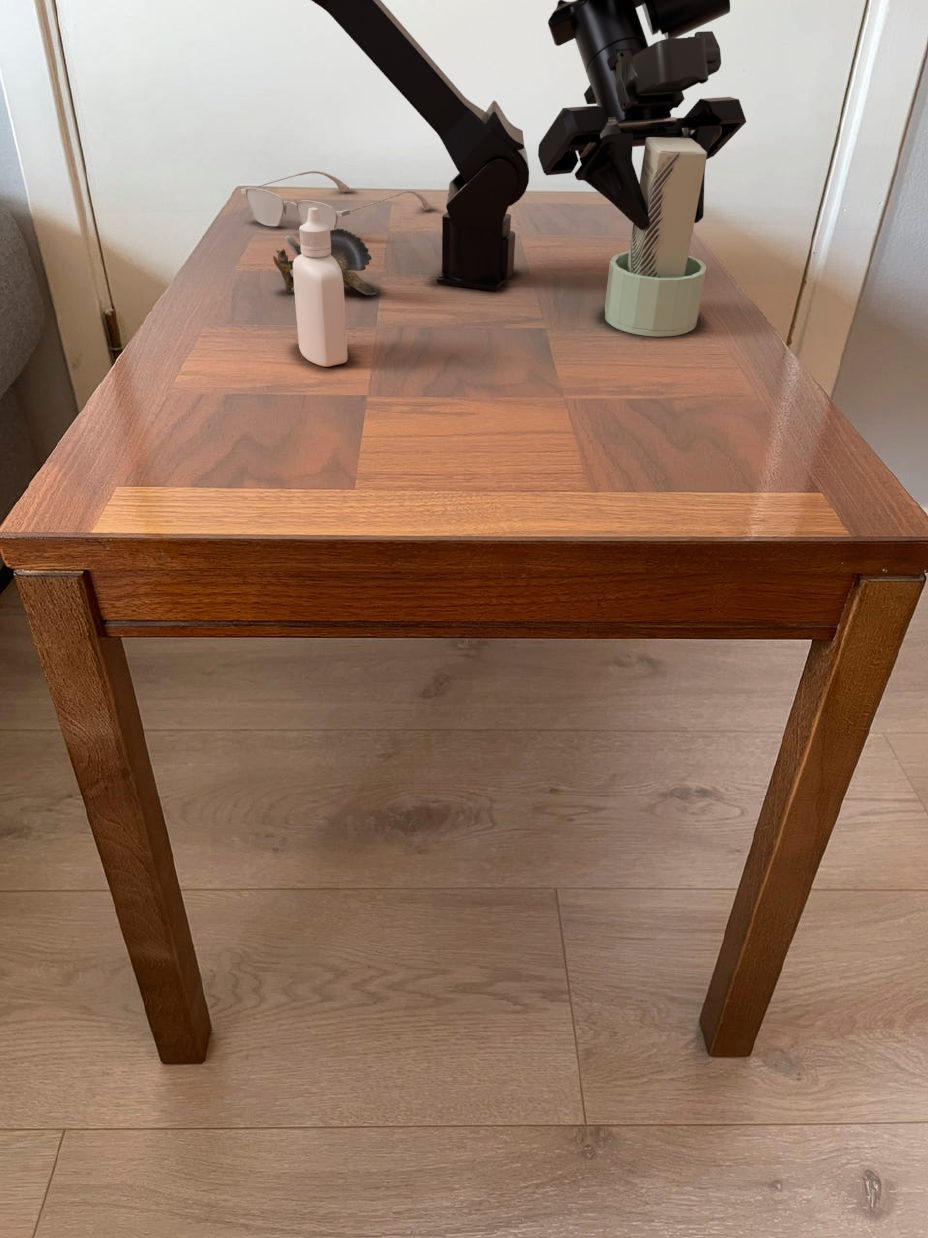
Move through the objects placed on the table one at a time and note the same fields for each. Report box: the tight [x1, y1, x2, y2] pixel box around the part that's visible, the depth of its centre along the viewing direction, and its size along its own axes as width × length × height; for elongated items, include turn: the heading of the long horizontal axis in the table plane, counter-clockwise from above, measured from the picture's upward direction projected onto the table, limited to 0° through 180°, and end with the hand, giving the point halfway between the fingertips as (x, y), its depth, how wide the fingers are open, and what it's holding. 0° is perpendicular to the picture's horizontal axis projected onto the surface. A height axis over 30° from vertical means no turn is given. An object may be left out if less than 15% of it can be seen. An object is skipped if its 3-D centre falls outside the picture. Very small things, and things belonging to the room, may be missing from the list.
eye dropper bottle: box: [292, 208, 349, 368], centre depth 80 cm, size 4×6×12 cm
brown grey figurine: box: [272, 228, 378, 296], centre depth 94 cm, size 8×7×9 cm
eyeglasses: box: [240, 170, 432, 230], centre depth 116 cm, size 15×18×4 cm
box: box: [626, 137, 707, 278], centre depth 87 cm, size 5×4×13 cm
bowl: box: [604, 250, 708, 338], centre depth 90 cm, size 9×9×5 cm
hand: (672, 223), depth 86 cm, fingers closed on box, 5 cm apart
